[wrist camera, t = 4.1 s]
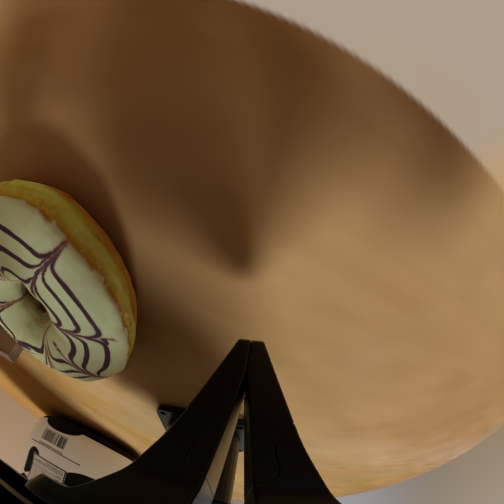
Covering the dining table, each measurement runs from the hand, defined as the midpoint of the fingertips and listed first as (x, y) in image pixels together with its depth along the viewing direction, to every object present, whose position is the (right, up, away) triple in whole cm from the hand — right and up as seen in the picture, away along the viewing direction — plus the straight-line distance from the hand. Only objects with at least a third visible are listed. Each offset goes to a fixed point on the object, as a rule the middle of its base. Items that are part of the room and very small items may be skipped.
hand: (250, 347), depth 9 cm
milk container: (-23, -24, +20) cm, 38 cm away
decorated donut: (-10, +2, +3) cm, 10 cm away
